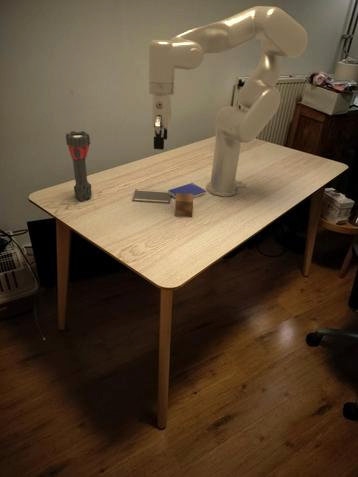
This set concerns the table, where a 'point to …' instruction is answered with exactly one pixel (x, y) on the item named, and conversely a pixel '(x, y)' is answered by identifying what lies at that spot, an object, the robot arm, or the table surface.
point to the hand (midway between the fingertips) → (160, 143)
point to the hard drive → (187, 190)
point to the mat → (151, 196)
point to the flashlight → (79, 162)
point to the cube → (184, 205)
